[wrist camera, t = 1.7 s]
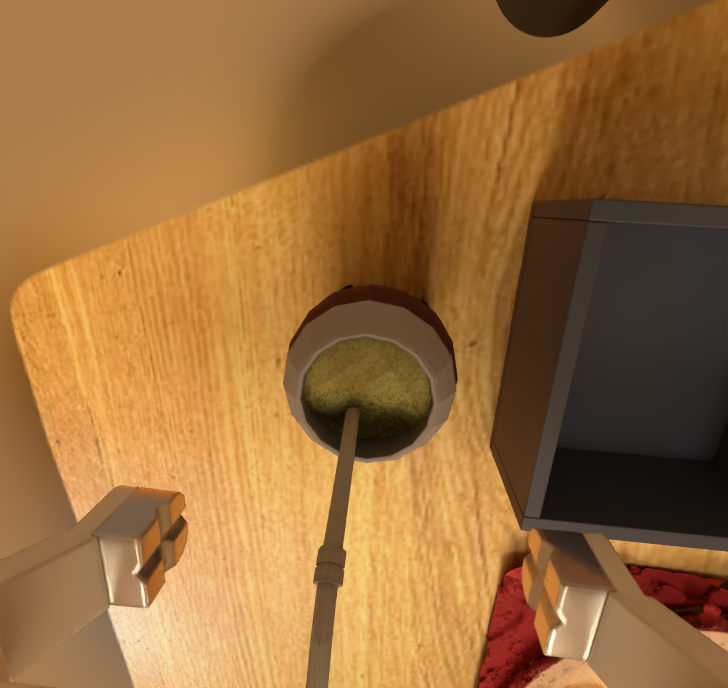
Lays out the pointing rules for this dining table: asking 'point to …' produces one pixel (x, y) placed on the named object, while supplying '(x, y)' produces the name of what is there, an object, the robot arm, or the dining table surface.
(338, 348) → the mate gourd
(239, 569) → the dining table surface
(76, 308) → the dining table surface
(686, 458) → the dark grey open box
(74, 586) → the robot arm
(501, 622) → the plate with food
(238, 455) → the dining table surface
